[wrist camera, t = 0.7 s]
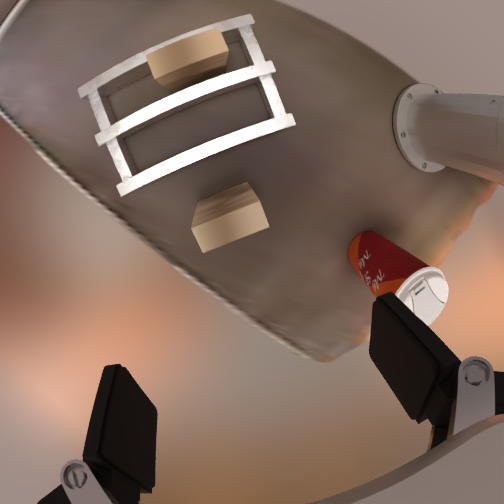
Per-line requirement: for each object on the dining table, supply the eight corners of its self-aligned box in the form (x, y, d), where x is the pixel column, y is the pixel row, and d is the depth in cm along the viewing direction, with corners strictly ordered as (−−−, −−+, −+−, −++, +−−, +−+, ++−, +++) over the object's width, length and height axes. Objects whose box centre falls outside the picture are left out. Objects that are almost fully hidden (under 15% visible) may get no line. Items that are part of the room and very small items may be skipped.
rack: (245, 29, 23) (250, 13, 19) (284, 125, 28) (295, 124, 24) (94, 93, 23) (77, 89, 19) (133, 187, 29) (121, 196, 25)
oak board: (217, 55, 24) (218, 26, 16) (224, 73, 25) (228, 50, 17) (164, 75, 24) (145, 55, 16) (172, 94, 25) (154, 79, 17)
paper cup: (330, 246, 35) (385, 309, 22) (375, 212, 34) (445, 257, 21) (355, 285, 38) (405, 348, 26) (395, 253, 37) (455, 305, 24)
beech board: (247, 181, 30) (259, 200, 22) (254, 200, 31) (269, 226, 23) (197, 201, 31) (191, 228, 22) (205, 220, 32) (202, 253, 23)
